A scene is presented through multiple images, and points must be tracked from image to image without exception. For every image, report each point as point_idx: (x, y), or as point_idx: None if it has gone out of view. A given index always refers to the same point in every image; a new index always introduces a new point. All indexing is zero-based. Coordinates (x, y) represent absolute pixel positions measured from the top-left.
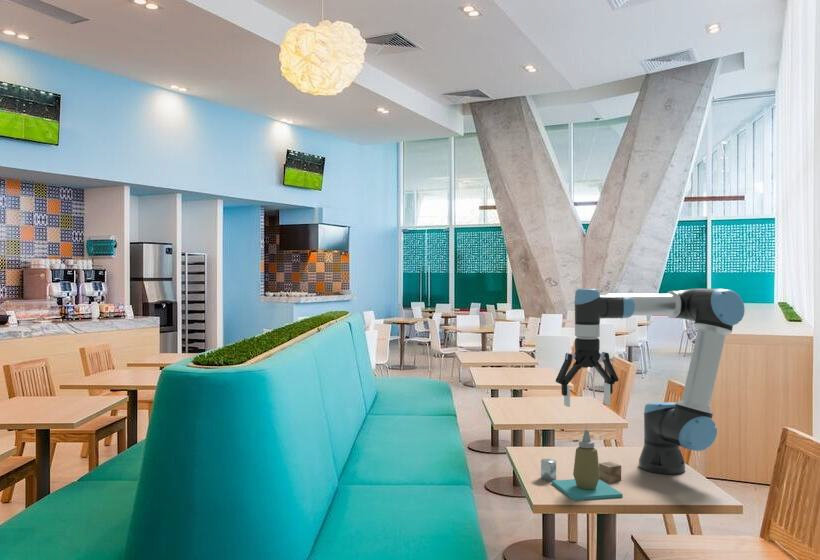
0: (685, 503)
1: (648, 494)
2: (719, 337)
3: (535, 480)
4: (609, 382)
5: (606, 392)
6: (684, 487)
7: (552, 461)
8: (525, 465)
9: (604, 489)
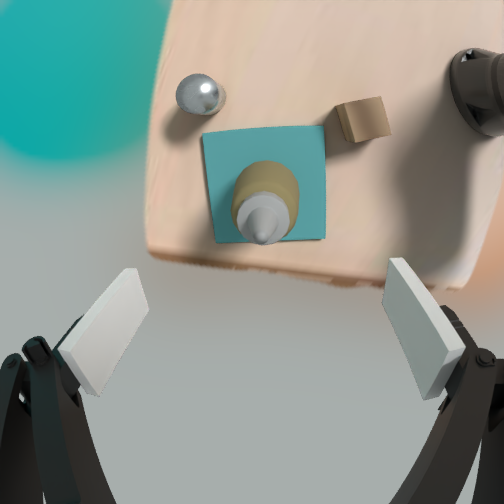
0: None
1: (382, 228)
2: None
3: (174, 109)
4: (444, 402)
5: (410, 334)
6: (460, 205)
7: (204, 99)
8: (187, 6)
9: (301, 207)
